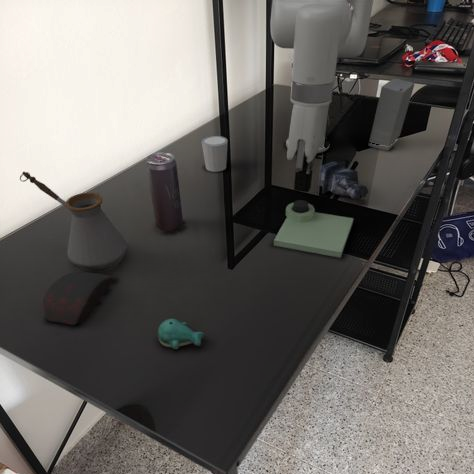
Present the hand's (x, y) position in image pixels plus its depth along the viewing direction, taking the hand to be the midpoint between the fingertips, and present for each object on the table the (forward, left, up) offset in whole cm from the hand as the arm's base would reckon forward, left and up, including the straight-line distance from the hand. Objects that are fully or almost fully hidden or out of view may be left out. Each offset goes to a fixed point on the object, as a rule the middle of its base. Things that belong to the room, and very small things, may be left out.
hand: (302, 189), depth 91 cm
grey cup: (-21, -29, -8) cm, 36 cm away
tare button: (0, 0, -5) cm, 5 cm away
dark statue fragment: (-16, +6, -8) cm, 19 cm away
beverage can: (+11, -27, -8) cm, 30 cm away
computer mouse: (+39, -30, -8) cm, 50 cm away
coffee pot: (+27, -39, -8) cm, 48 cm away
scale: (+4, +4, -8) cm, 10 cm away
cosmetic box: (-51, +12, -8) cm, 53 cm away
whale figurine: (+43, -9, -8) cm, 45 cm away
